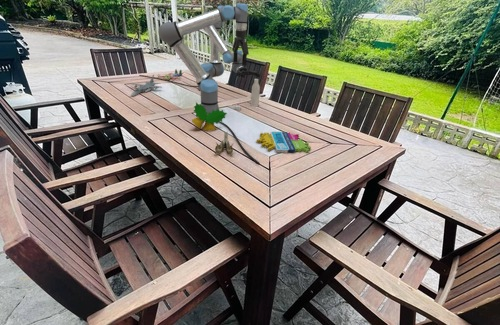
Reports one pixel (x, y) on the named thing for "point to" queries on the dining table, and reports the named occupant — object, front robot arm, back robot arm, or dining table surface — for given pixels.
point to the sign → (283, 142)
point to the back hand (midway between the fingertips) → (251, 76)
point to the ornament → (207, 117)
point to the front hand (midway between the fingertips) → (239, 63)
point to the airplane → (145, 87)
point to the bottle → (255, 93)
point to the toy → (172, 75)
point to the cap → (237, 107)
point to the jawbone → (224, 145)
